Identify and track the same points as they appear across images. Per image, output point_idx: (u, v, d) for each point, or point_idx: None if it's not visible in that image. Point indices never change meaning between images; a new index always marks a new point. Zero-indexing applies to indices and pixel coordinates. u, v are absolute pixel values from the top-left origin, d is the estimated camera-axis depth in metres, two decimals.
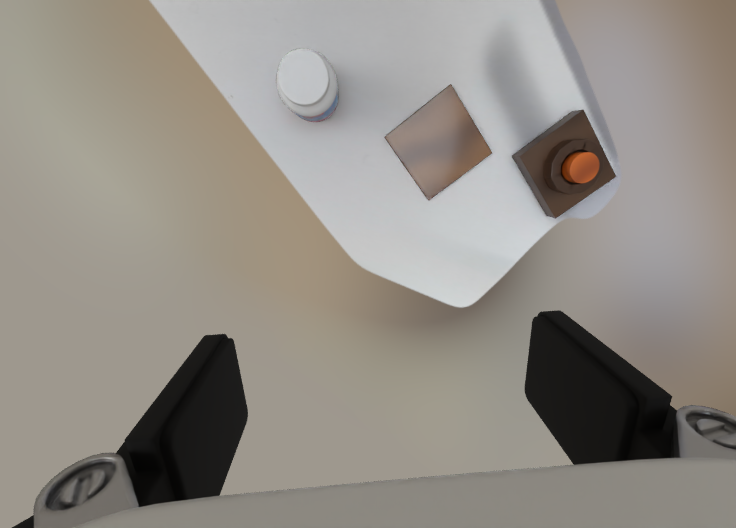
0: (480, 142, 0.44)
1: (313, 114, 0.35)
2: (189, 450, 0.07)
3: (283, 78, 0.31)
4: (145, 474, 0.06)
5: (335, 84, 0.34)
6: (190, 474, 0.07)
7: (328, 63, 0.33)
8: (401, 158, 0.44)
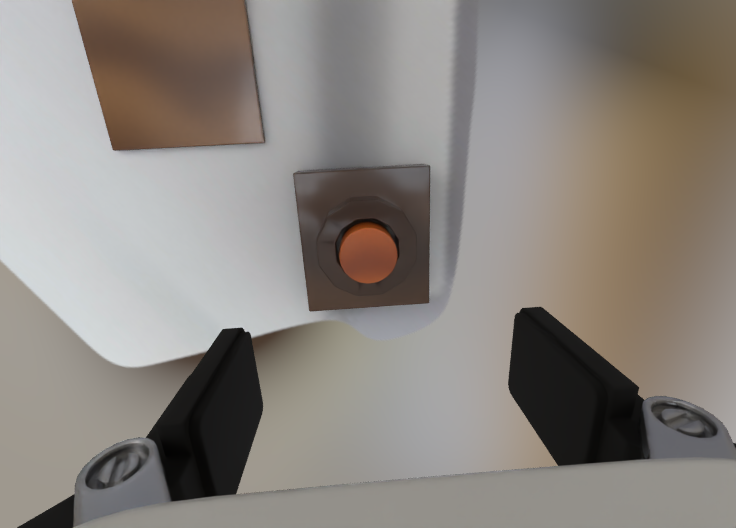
0: (250, 109, 0.23)
1: None
2: (214, 437, 0.07)
3: None
4: (175, 458, 0.07)
5: None
6: (215, 460, 0.07)
7: None
8: (84, 35, 0.21)
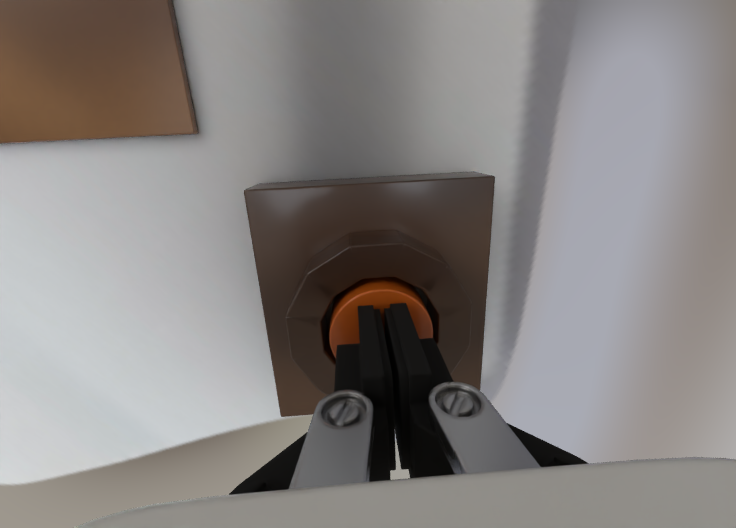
0: (165, 72, 0.12)
1: None
2: None
3: None
4: (374, 408, 0.08)
5: None
6: None
7: None
8: None
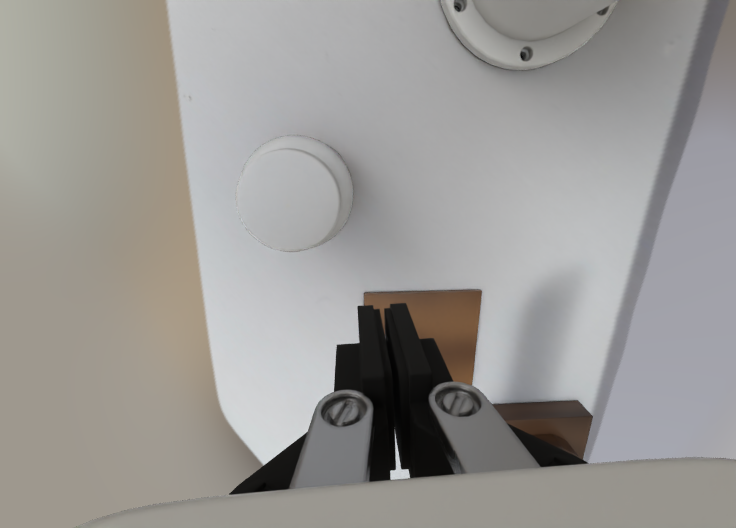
0: (467, 371, 0.32)
1: None
2: None
3: (252, 181, 0.15)
4: (374, 408, 0.08)
5: (338, 229, 0.19)
6: None
7: (349, 195, 0.18)
8: None
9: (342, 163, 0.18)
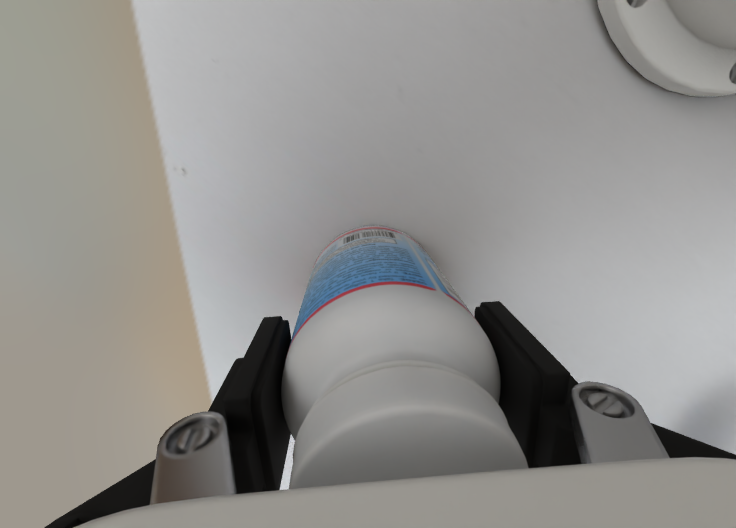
0: None
1: None
2: (269, 413, 0.08)
3: (327, 475, 0.06)
4: (238, 431, 0.07)
5: None
6: (270, 434, 0.08)
7: (498, 398, 0.09)
8: None
9: (485, 338, 0.09)
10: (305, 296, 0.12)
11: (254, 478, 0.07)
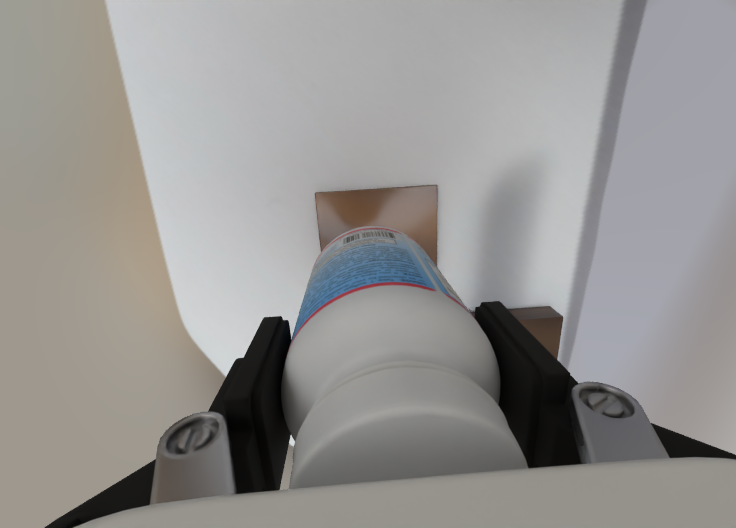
0: None
1: None
2: (269, 413, 0.08)
3: (327, 476, 0.06)
4: (238, 431, 0.07)
5: None
6: (270, 435, 0.08)
7: (498, 399, 0.09)
8: (321, 233, 0.29)
9: (485, 339, 0.09)
10: (305, 297, 0.12)
11: (254, 478, 0.07)
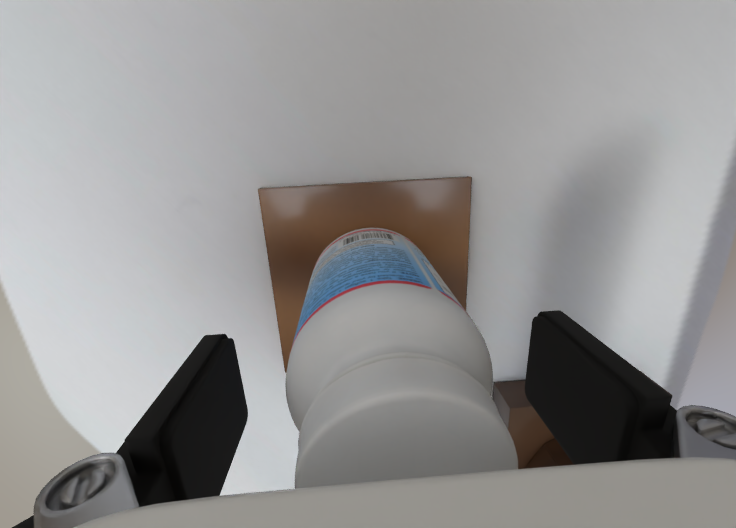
0: None
1: None
2: (189, 450, 0.07)
3: (331, 457, 0.07)
4: (145, 474, 0.06)
5: None
6: (190, 474, 0.07)
7: (490, 390, 0.10)
8: (271, 258, 0.17)
9: (478, 333, 0.09)
10: (307, 295, 0.13)
11: None
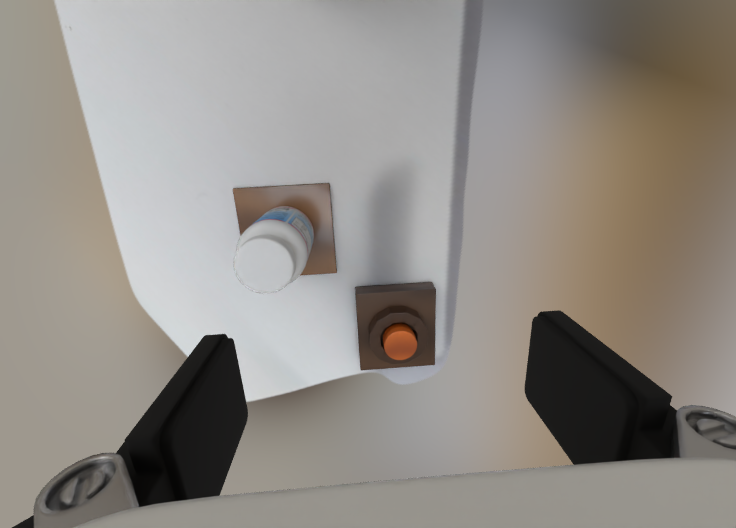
0: (330, 256, 0.39)
1: None
2: (189, 450, 0.07)
3: (242, 256, 0.27)
4: (145, 474, 0.06)
5: (298, 274, 0.30)
6: (190, 474, 0.07)
7: (303, 254, 0.30)
8: (239, 220, 0.37)
9: (298, 235, 0.29)
10: None
11: None
